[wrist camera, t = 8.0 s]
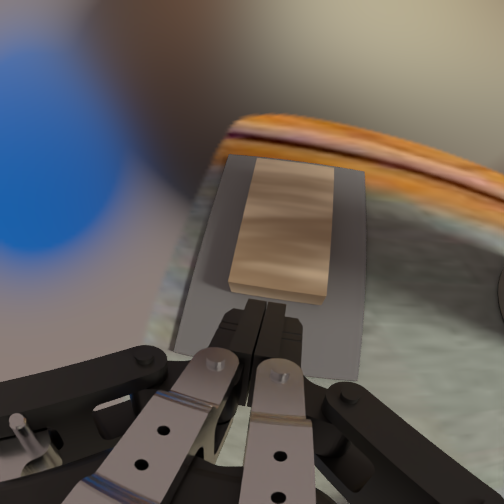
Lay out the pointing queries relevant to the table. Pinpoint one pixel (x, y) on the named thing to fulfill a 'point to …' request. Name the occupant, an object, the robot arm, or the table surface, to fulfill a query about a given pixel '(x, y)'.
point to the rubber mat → (310, 315)
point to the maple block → (285, 233)
